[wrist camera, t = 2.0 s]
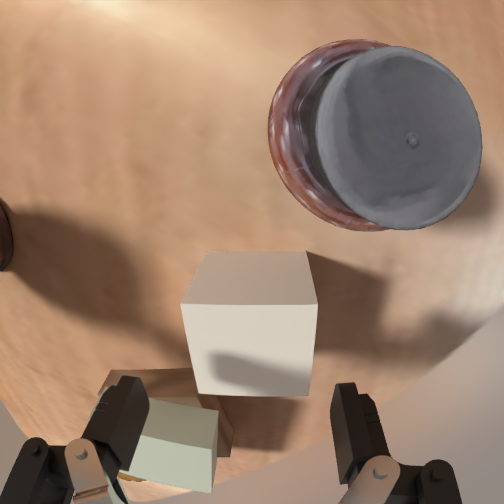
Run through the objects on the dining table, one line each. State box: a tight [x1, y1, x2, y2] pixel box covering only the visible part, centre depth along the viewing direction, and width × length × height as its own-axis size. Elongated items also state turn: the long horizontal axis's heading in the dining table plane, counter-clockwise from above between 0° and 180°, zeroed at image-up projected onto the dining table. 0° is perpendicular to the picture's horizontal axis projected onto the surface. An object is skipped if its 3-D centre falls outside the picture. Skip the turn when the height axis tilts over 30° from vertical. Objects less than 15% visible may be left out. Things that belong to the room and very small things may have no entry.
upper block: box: [88, 386, 219, 493], centre depth 20 cm, size 9×9×4 cm
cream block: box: [180, 251, 318, 397], centre depth 17 cm, size 6×6×6 cm
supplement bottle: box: [268, 39, 482, 231], centre depth 10 cm, size 6×6×11 cm
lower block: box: [98, 368, 234, 457], centre depth 24 cm, size 9×9×4 cm
